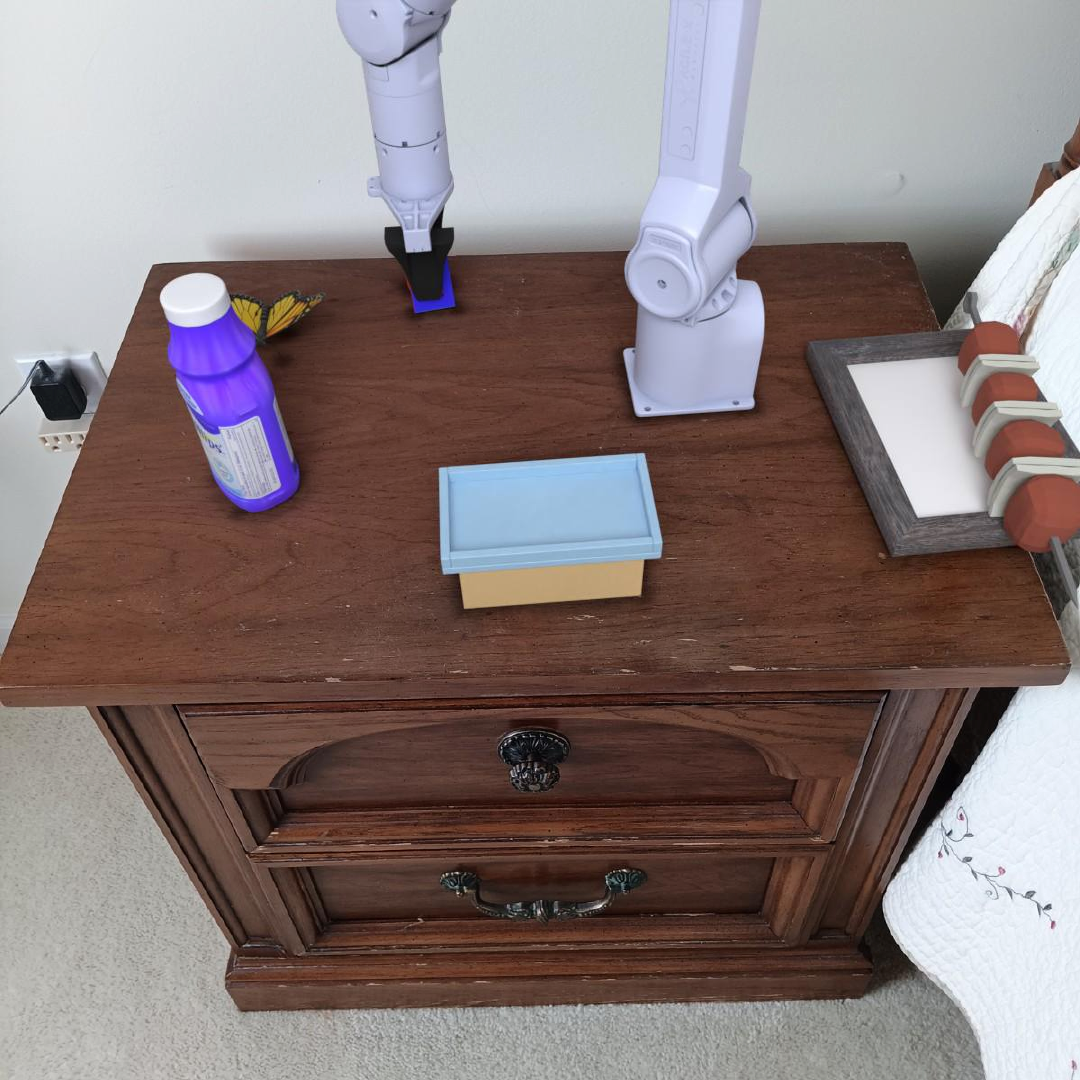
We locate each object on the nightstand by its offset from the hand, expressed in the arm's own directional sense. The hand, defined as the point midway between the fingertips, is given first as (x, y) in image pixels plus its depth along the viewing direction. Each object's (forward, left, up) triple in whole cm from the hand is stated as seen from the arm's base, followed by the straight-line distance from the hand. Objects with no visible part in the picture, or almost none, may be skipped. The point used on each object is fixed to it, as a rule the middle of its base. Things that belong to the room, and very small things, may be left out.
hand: (428, 275), depth 89 cm
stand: (-8, +32, -2) cm, 33 cm away
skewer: (-43, +12, +4) cm, 45 cm away
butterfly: (+14, +7, -2) cm, 16 cm away
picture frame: (-39, +13, 0) cm, 41 cm away
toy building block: (0, 0, -2) cm, 2 cm away
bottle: (+13, +23, -2) cm, 26 cm away
